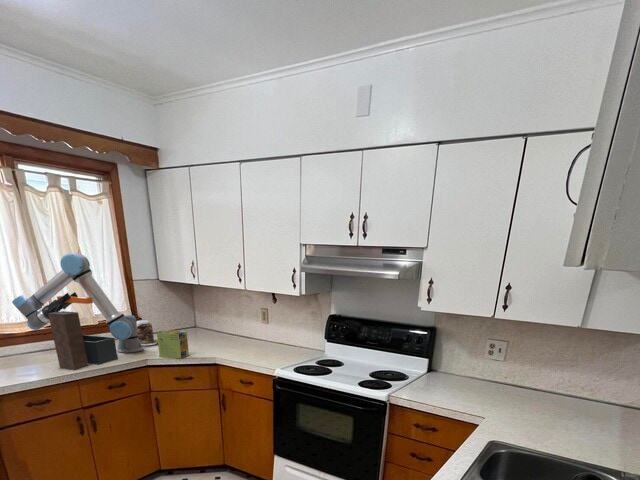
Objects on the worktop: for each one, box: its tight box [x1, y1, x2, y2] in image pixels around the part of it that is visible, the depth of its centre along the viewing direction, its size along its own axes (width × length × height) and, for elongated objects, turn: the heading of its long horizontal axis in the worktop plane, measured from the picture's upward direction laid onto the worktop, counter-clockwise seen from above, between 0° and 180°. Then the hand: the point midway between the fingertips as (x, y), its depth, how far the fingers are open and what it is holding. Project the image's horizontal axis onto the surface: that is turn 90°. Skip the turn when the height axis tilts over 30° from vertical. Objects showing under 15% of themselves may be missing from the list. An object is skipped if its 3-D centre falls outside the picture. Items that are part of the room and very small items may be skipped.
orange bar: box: [56, 295, 94, 305], centre depth 242 cm, size 20×4×3 cm, turn 76°
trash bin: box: [82, 334, 119, 366], centre depth 255 cm, size 24×16×13 cm, turn 75°
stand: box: [48, 310, 89, 371], centre depth 236 cm, size 10×10×30 cm
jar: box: [136, 319, 155, 344], centre depth 308 cm, size 12×12×15 cm
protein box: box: [156, 329, 190, 359], centre depth 270 cm, size 10×15×16 cm
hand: (72, 294), depth 241 cm, fingers closed on orange bar, 4 cm apart
